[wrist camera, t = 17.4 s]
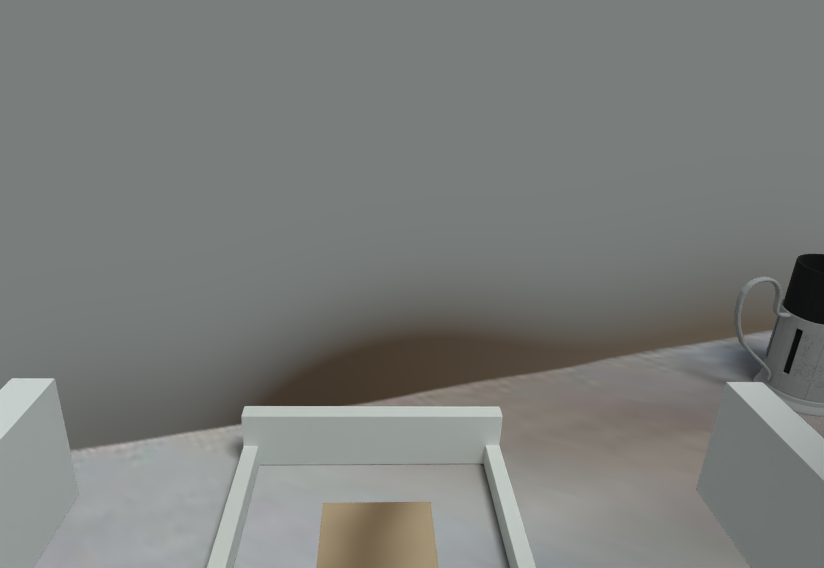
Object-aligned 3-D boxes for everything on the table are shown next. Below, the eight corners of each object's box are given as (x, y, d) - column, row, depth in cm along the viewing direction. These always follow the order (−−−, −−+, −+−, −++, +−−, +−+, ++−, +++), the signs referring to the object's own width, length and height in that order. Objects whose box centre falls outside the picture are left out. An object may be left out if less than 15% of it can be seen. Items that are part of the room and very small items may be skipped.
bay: (493, 452, 56) (499, 406, 54) (604, 844, 29) (623, 781, 27) (248, 453, 54) (244, 406, 52) (129, 869, 28) (113, 803, 26)
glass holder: (863, 415, 64) (915, 283, 58) (735, 418, 63) (776, 283, 57) (806, 371, 72) (847, 252, 66) (692, 373, 71) (723, 250, 65)
